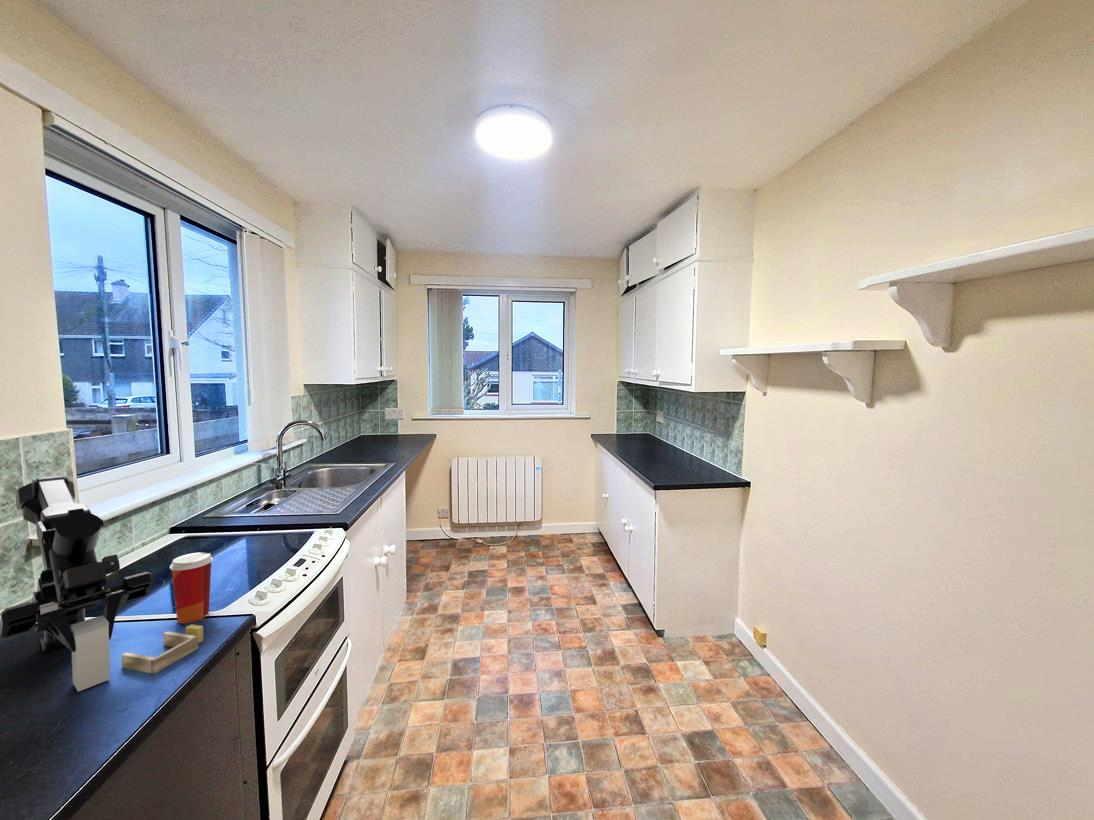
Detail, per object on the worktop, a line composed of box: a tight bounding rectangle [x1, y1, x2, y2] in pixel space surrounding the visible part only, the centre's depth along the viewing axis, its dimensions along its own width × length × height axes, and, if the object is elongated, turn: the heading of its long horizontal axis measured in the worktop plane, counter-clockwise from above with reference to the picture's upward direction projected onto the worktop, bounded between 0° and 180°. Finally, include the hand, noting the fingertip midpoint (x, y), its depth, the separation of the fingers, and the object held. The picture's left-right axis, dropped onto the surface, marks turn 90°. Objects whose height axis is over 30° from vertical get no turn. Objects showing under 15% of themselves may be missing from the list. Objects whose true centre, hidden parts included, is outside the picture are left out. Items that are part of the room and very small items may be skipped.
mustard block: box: [185, 623, 204, 644], centre depth 90 cm, size 3×1×3 cm, turn 78°
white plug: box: [70, 614, 111, 692], centre depth 77 cm, size 4×4×10 cm
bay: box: [121, 630, 199, 674], centre depth 84 cm, size 8×8×2 cm
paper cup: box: [169, 551, 214, 625], centre depth 99 cm, size 8×8×14 cm
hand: (92, 644), depth 76 cm, fingers closed on white plug, 4 cm apart
